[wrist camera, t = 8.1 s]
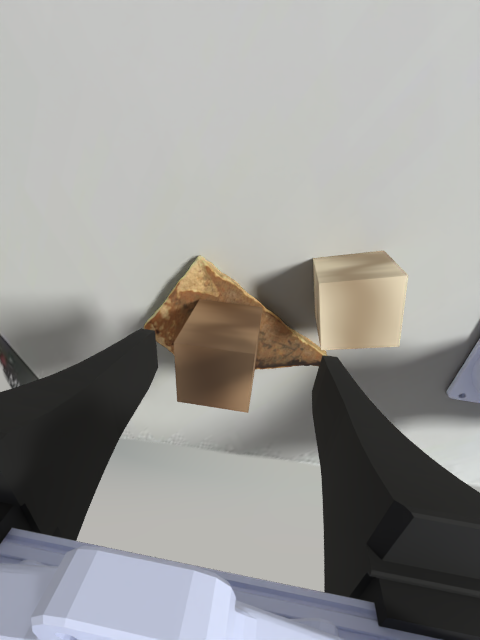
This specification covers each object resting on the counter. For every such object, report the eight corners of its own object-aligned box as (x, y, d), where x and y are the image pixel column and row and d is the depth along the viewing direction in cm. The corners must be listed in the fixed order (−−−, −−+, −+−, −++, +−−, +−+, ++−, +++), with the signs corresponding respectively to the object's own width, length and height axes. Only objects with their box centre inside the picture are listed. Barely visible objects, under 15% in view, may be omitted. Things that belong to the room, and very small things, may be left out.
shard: (331, 350, 24) (335, 367, 22) (257, 406, 28) (256, 424, 26) (205, 246, 21) (197, 255, 19) (143, 325, 25) (132, 339, 23)
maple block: (383, 250, 19) (408, 275, 15) (378, 310, 21) (399, 346, 17) (312, 257, 20) (319, 283, 16) (315, 315, 22) (321, 350, 18)
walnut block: (262, 307, 20) (254, 354, 16) (256, 358, 23) (248, 412, 18) (199, 299, 21) (173, 342, 16) (199, 350, 23) (177, 401, 18)
